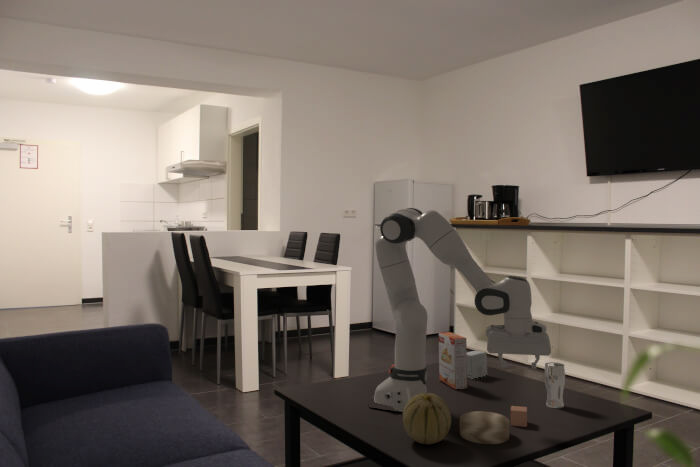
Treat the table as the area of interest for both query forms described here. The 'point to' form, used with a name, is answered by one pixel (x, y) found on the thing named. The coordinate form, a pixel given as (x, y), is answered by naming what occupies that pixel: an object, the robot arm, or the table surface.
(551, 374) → the beer glass
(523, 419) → the terracotta cube
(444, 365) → the cracker box
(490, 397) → the table surface
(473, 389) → the table surface
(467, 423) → the birch pedestal
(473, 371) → the skincare box
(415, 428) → the cantaloupe
